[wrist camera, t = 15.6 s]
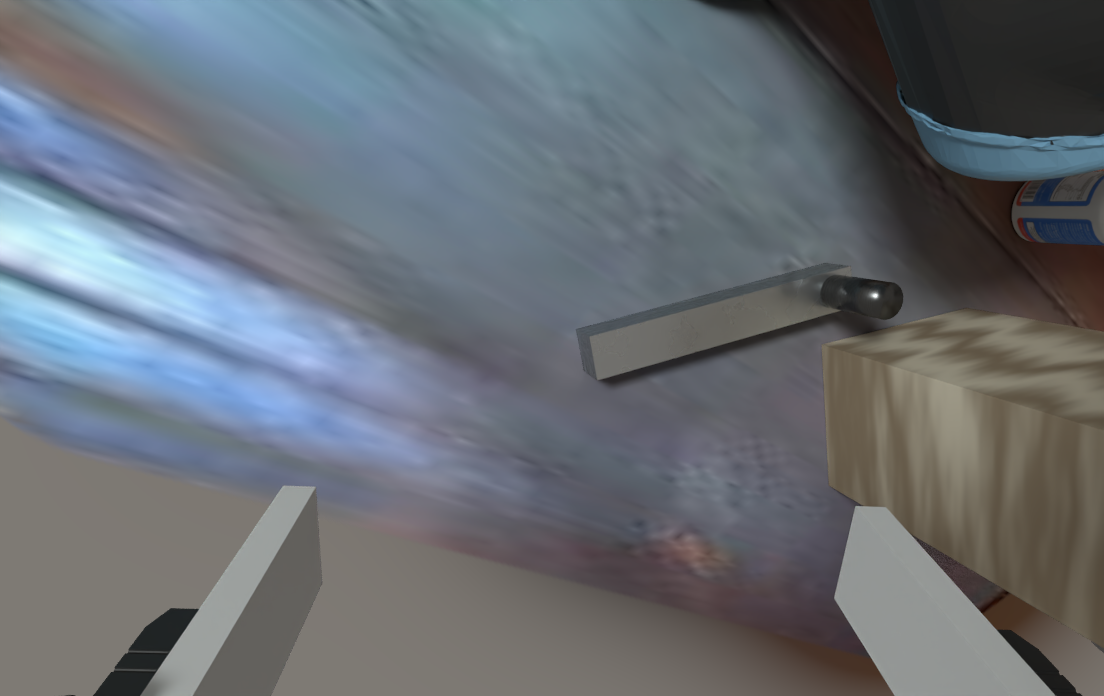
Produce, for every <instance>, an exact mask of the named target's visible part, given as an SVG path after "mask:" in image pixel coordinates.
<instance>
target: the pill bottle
mask: <svg viewBox="0 0 1104 696" xmlns="http://www.w3.org/2000/svg"><path fill="white" fill-rule="evenodd" d="M1012 223H1013V226H1014V229H1015V231H1016V232H1017V234H1018V235H1019V236H1020V237H1021V238H1023V239H1025V240H1027V241H1030V242H1038V243H1061V244H1083V245H1104V171H1100V172H1088V173H1084V174H1079V175H1074V176H1068V177H1062V178H1054V179H1044V180H1034V181H1027V182H1026V183H1025V184H1024V185H1023V186H1022V187H1021V188H1020V190H1019V191H1018V193H1017V195H1016V197H1015V199H1014V202H1013V206H1012Z"/></svg>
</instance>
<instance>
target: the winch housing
mask: <svg viewBox="0 0 1104 696" xmlns="http://www.w3.org/2000/svg"><path fill="white" fill-rule="evenodd" d="M822 360H823V380H824V399H825V419H826V439H827V459H828V478H829V486H831V487H832V488H834V489H836V490H837V491H839V492H841V493H842V494H844V495H846V496H847V497H849V498H851V499H852V500H854V501H856V502H858V503H859V504H861V505H863V506H868V507H886V508H887V509H888V510H889V511H890V512H891V513H892V514H893V516H894V517H895V518H896V519H897V520H898V521H899V522H900V523H901V524H902V526H903V527H904V528H905V529H906V530H907V531H908V532H909V533H910V534H912V535H913V536H915V537H917V538H918V539H920V540H922V541H923V542H925V543H927V544H928V545H930V546H932V547H934V548H935V549H937V550H939V551H940V552H942V553H944V554H945V555H947V556H949V557H950V558H952V559H954V560H955V561H957V562H959V563H961V564H962V565H964V566H966V567H967V568H969V569H971V570H972V571H974V572H976V573H977V574H979V575H981V576H982V577H984V578H986V579H988V580H989V581H991V582H993V583H994V584H996V585H998V586H999V587H1001V588H1003V589H1004V590H1006V591H1008V592H1009V593H1011V594H1013V595H1015V596H1016V597H1018V598H1020V599H1021V600H1023V601H1025V602H1026V603H1028V604H1030V605H1032V606H1033V607H1035V608H1037V609H1038V610H1040V611H1042V612H1043V613H1045V614H1047V615H1048V616H1050V617H1052V618H1053V619H1055V620H1057V621H1058V622H1060V623H1062V624H1064V625H1065V626H1067V627H1069V628H1070V629H1072V630H1074V631H1075V632H1077V633H1079V634H1080V635H1082V636H1084V637H1086V638H1087V639H1089V640H1091V642H1092V643H1093V644H1094V645H1095V646H1096V647H1097V648H1098V649H1100V650H1101V651H1102V652H1103V653H1104V332H1102V331H1096V330H1091V329H1085V328H1079V327H1073V326H1068V325H1062V324H1056V323H1051V322H1045V321H1039V320H1033V319H1028V318H1022V317H1016V316H1010V315H1005V314H999V313H993V312H987V311H982V310H976V309H970V308H965V309H961V310H957V311H953V312H949V313H945V314H941V315H937V316H933V317H929V318H925V319H921V320H917V321H913V322H909V323H905V324H901V325H897V326H893V327H889V328H885V329H881V330H878V331H874V332H870V333H866V334H862V335H858V336H854V337H850V338H846V339H842V340H838V341H834V342H830V343H826V344H822Z"/></svg>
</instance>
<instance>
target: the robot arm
mask: <svg viewBox="0 0 1104 696" xmlns="http://www.w3.org/2000/svg"><path fill="white" fill-rule="evenodd" d="M868 1H869V4H870V7H871V9H872V12H873V15H874V17H875V20H876V23H877V25H878V28H879V31H880V33H881V36H882V39H883V42H884V44H885V47H886V50H887V52H888V55H889V58H890V60H891V63H892V66H893V69H894V71H895V74H896V77H897V79H898V81H897V84H896V89H897V95H898V98H899V101H900V103H901V105H902V106H903V107H904V108H905V110H906V112H907V113H908V114H909V115H910V116H911V117H912V119H913V122H914V124H915V126H916V129H917V131H918V133H919V136H920V138H921V140H922V143H923V145H924V147H925V148H926V150H927V151H928V153H929V154H931V156H932V157H933V158H934V159H935V160H936V161H937V162H938V163H940V164H941V165H943V166H944V167H945V168H947V169H949V170H952V171H954V172H956V173H959V174H961V175H965V176H968V177H973V178H978V179H985V180H994V181H1034V180H1044V179H1054V178H1062V177H1068V176H1074V175H1079V174H1084V173H1088V172H1093V171H1097V170H1101V169H1104V0H868ZM318 527H319V526H318V511H317V496H316V487H304V486H283V487H282V488H281V490H280V491H279V493H278V494H277V496H276V497H275V499H274V500H273V502H272V503H271V505H270V506H269V507H268V509H267V511H266V512H265V513H264V515H263V516H262V518H261V519H260V521H259V522H258V524H257V525H256V527H255V528H254V529H253V531H252V532H251V534H250V535H249V537H248V538H247V540H246V541H245V543H244V544H243V546H242V547H241V549H240V550H239V552H238V553H237V554H236V556H235V558H234V559H233V560H232V562H231V563H230V565H229V566H228V568H227V569H226V571H225V572H224V574H223V575H222V577H221V578H220V579H219V581H218V583H217V584H216V585H215V587H214V588H213V590H212V591H211V593H210V594H209V596H208V597H207V599H206V600H205V601H204V603H203V604H202V606H201V607H200V609H176V608H171V609H169V610H168V611H167V612H165V613H164V614H163V615H161V616H160V617H158V618H157V619H156V620H154V621H153V622H152V623H150V624H149V625H148V626H146V627H145V628H144V630H143V631H142V632H141V634H140V635H139V636H138V638H137V639H136V640H135V641H134V643H133V644H132V645H131V647H130V648H129V651H128V653H127V654H125V655H124V656H123V657H122V659H121V660H120V661H119V662H118V664H117V665H116V666H115V670H114V672H111V673H110V674H109V676H108V677H107V678H106V680H105V681H104V682H103V683H102V685H101V686H100V687H99V689H98V690H97V691H96V693H95V694H94V695H93V696H271V695H272V692H273V690H274V688H275V686H276V684H277V681H278V679H279V677H280V675H281V673H282V671H283V668H284V666H285V664H286V661H287V660H288V657H289V655H290V653H291V651H292V649H293V646H294V644H295V642H296V640H297V638H298V635H299V633H300V631H301V629H302V627H303V624H304V622H305V620H306V618H307V616H308V613H309V611H310V609H311V607H312V605H313V602H314V600H315V598H316V596H317V594H318V591H319V589H320V587H321V585H322V574H321V573H322V572H321V558H320V542H319V528H318ZM834 599H835V601H836V602H837V604H838V605H839V607H840V609H841V610H842V612H843V613H844V615H845V617H846V618H847V620H848V621H849V623H850V625H851V626H852V628H853V629H854V631H855V633H856V634H857V636H858V638H859V639H860V641H861V642H862V644H863V646H864V647H865V649H866V650H867V652H868V654H869V655H870V657H871V658H872V660H873V662H874V663H875V665H876V666H877V668H878V670H879V671H880V673H881V674H882V676H883V678H884V679H885V681H886V683H887V684H888V686H889V687H890V689H891V691H892V692H893V694H894V695H895V696H1082V695H1081V694H1080V693H1076V689H1075V688H1074V686H1073V685H1072V684H1071V683H1070V682H1069V681H1068V680H1067V679H1066V678H1065V677H1064V676H1063V675H1060V674H1059V671H1058V670H1057V669H1056V667H1055V666H1054V665H1053V664H1052V663H1051V662H1050V661H1049V660H1048V659H1047V658H1046V657H1045V656H1044V655H1043V654H1042V653H1041V652H1040V651H1039V649H1037V648H1036V647H1034V646H1033V645H1031V644H1030V643H1029V642H1027V641H1026V640H1024V639H1023V638H1021V637H1020V636H1018V635H1017V634H1016V633H1014V632H1013V631H1011V630H996V629H995V628H994V627H993V626H992V624H991V623H990V622H989V621H988V620H987V619H986V618H985V617H984V616H983V614H982V613H981V612H980V611H979V610H978V609H977V608H976V607H975V606H974V604H973V603H972V602H971V601H970V600H969V599H968V598H967V597H966V596H965V594H964V593H963V592H962V591H961V590H960V589H959V588H958V587H957V586H956V584H955V583H954V582H953V581H952V580H951V579H950V578H949V577H948V576H947V574H946V573H945V572H944V571H943V570H942V569H941V568H940V567H939V566H938V564H937V563H936V562H935V561H934V560H933V559H932V558H931V557H930V556H929V554H928V553H927V552H926V551H925V550H924V549H923V548H922V547H921V546H920V544H919V543H918V542H917V541H916V540H915V539H914V538H913V537H912V536H911V534H910V533H909V532H908V531H907V530H906V529H905V528H904V527H903V526H902V524H901V523H900V522H899V521H898V520H897V519H896V518H895V517H894V516H893V514H892V513H891V512H890V511H889V510H888V509H887V508H886V507H868V506H855V510H854V515H853V519H852V523H851V528H850V532H849V536H848V541H847V545H846V549H845V554H844V558H843V562H842V566H841V571H840V575H839V579H838V584H837V588H836V592H835V597H834ZM67 696H74V695H67Z"/></svg>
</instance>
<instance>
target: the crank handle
mask: <svg viewBox="0 0 1104 696" xmlns="http://www.w3.org/2000/svg"><path fill="white" fill-rule="evenodd" d="M902 303H903V293H902V290H901V288H900V287H899V286H898V285H897V284H895V283H892V282H885V281H878V280H871V279H864V278H857V277H852V275H851V266H846V265H838V264H830V263H823V264H819V265H815V266H812V267H808V268H804V269H800V270H797V271H793V272H789V273H785V274H781V275H778V276H774V277H770V278H766V279H763V280H759V281H755V282H751V283H748V284H744V285H740V286H736V287H733V288H729V289H725V290H721V291H718V292H714V293H710V294H706V295H703V296H699V297H695V298H691V299H687V300H684V301H680V302H676V303H672V304H669V305H665V306H661V307H657V308H654V309H650V310H646V311H642V312H639V313H635V314H631V315H627V316H624V317H620V318H616V319H612V320H609V321H605V322H601V323H597V324H593V325H590V326H586V327H582V328H578V329H576V333H577V338H578V343H579V349H580V354H581V359H582V364H583V370H584V371H585V372H586V373H588V374H589V375H591V376H592V377H593V378H595V379H596V380H601V379H604V378H608V377H611V376H615V375H618V374H621V373H625V372H628V371H632V370H635V369H639V368H642V367H646V366H649V365H653V364H656V363H660V362H663V361H667V360H670V359H674V358H677V357H681V356H684V355H688V354H691V353H695V352H698V351H702V350H705V349H709V348H712V347H716V346H719V345H723V344H726V343H730V342H733V341H737V340H740V339H744V338H747V337H751V336H754V335H758V334H761V333H764V332H768V331H771V330H775V329H778V328H782V327H785V326H789V325H792V324H796V323H799V322H803V321H806V320H810V319H813V318H817V317H820V316H824V315H827V314H831V313H834V312H838V311H846V312H851V313H855V314H860V315H865V316H869V317H874V318H878V319H883V320H887V319H890V318H892V317H894V316H895V315H896V314H897V313H898V312H899V310H900V309H901V306H902Z"/></svg>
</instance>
